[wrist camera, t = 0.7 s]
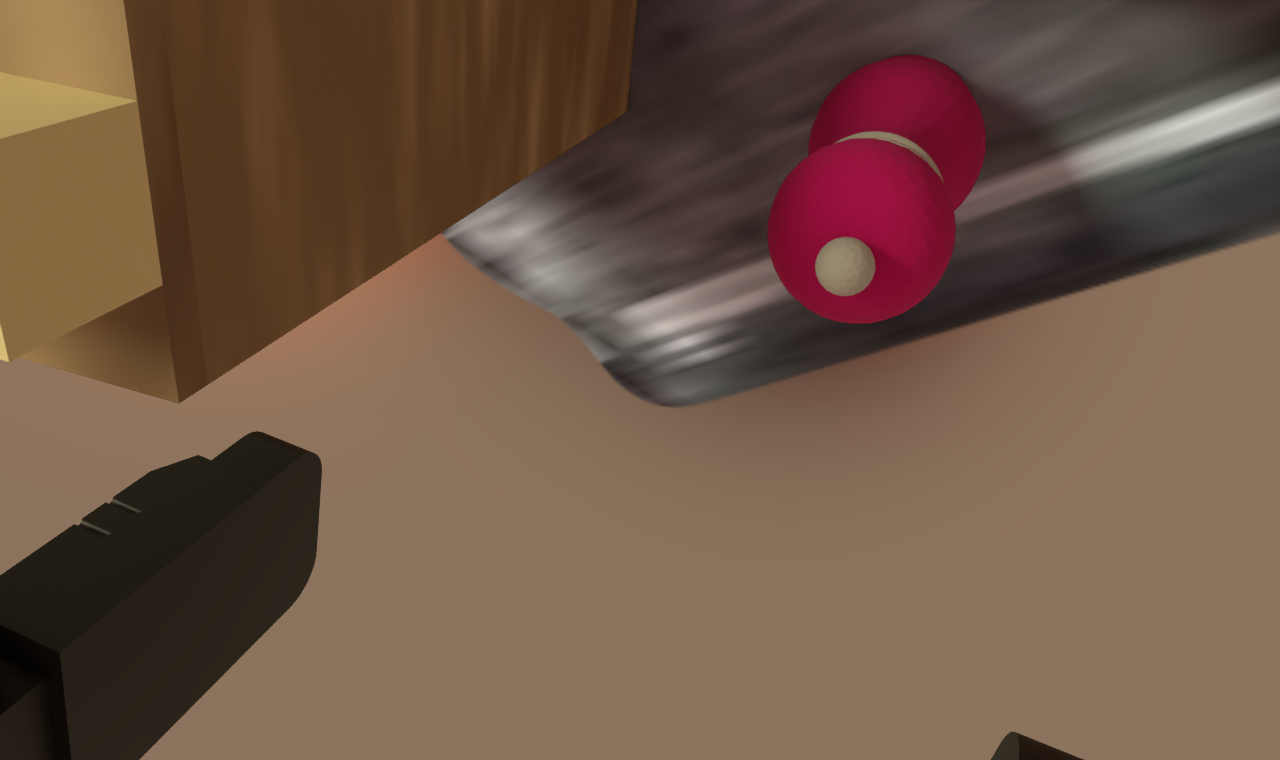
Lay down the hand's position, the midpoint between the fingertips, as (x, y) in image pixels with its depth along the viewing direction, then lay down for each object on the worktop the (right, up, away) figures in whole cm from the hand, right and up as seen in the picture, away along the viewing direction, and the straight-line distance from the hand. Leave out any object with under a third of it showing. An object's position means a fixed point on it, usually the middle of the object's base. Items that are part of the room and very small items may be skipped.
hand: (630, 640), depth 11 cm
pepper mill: (+12, +15, +36) cm, 41 cm away
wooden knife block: (-7, +22, +39) cm, 45 cm away
